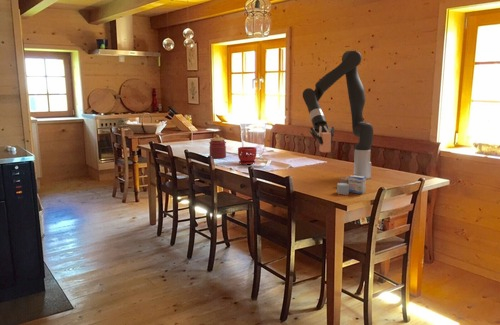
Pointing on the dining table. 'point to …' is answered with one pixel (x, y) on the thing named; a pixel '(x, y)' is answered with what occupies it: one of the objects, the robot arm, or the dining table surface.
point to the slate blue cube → (343, 188)
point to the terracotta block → (325, 142)
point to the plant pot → (247, 155)
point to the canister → (217, 147)
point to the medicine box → (357, 184)
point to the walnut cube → (344, 180)
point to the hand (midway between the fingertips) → (326, 143)
